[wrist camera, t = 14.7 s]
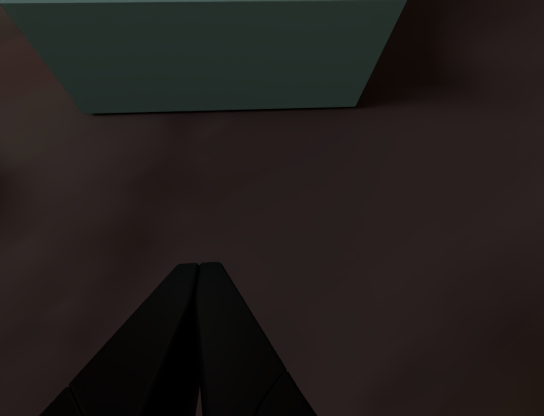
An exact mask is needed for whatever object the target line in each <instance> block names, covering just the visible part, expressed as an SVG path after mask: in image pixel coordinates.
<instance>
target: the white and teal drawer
mask: <svg viewBox="0 0 544 416" xmlns="http://www.w3.org/2000/svg"><path fill="white" fill-rule="evenodd" d="M406 2H407V0H0V4H1V6H2V7H3V8H4V10H5V11H6V12H7V13H8V15H9V16H10V17H11V19H12V20H13V21H14V23H15V24H16V25H17V27H18V28H19V29H20V31H21V32H22V33H23V35H24V36H25V37H26V39H27V40H28V41H29V43H30V44H31V45H32V46H33V48H34V49H35V50H36V52H37V53H38V54H39V56H40V57H41V58H42V60H43V61H44V62H45V64H46V65H47V66H48V68H49V69H50V70H51V72H52V73H53V74H54V76H55V77H56V78H57V80H58V81H59V82H60V83H61V85H62V86H63V87H64V89H65V90H66V91H67V93H68V94H69V95H70V97H71V98H72V99H73V101H74V102H75V103H76V105H77V106H78V107H79V109H80V110H81V111H82V113H83V114H90V113H128V112H165V111H203V110H241V109H279V108H317V107H355V106H356V104H357V102H358V100H359V98H360V96H361V94H362V92H363V90H364V88H365V86H366V84H367V82H368V79H369V77H370V75H371V73H372V71H373V69H374V67H375V65H376V63H377V61H378V59H379V57H380V55H381V53H382V51H383V49H384V47H385V45H386V43H387V41H388V39H389V36H390V34H391V32H392V30H393V28H394V26H395V24H396V22H397V20H398V18H399V16H400V14H401V12H402V10H403V8H404V6H405V4H406Z"/></svg>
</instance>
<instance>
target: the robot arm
mask: <svg viewBox="0 0 544 416" xmlns="http://www.w3.org/2000/svg"><path fill="white" fill-rule="evenodd" d="M199 388H200V391H201V403H202V414H203V416H317V415H316V413H315V412H314V411H313V409H312V408H311V406H310V405H309V403H308V402H307V400H306V399H305V397H304V396H303V394H302V393H301V391H300V390H299V388H298V387H297V385H296V383H295V382H294V380H293V378H292V377H291V375H290V374H289V372H287V370H286V368H285V366H284V364H283V363H282V361H281V359H280V358H279V356H278V355H277V353H276V351H275V350H274V348H273V346H272V345H271V343H270V342H269V340H268V338H267V337H266V335H265V333H264V332H263V330H262V329H261V327H260V325H259V324H258V322H257V320H256V319H255V317H254V316H253V314H252V312H251V311H250V309H249V307H248V306H247V304H246V303H245V301H244V299H243V298H242V296H241V294H240V293H239V291H238V290H237V288H236V286H235V285H234V283H233V282H232V280H231V278H230V277H229V275H228V273H227V272H226V270H225V269H224V267H223V265H222V264H221V263H220V262H207V263H201V264H200V266H199V265H198V264H197V263H188V264H179V265H177V266H176V267H175V268H174V269H173V270H172V271H171V272H170V274H169V275H168V276H167V277H166V278H165V279H164V280H163V281H162V282H161V283H160V285H159V286H158V287H157V288H156V289H155V290H154V291H153V292H152V293H151V294H150V296H149V297H148V298H147V299H146V300H145V301H144V302H143V303H142V304H141V305H140V306H139V308H138V309H137V310H136V311H135V312H134V313H133V314H132V315H131V316H130V317H129V319H128V320H127V321H126V322H125V323H124V324H123V325H122V326H121V327H120V328H119V330H118V331H117V332H116V333H115V334H114V335H113V336H112V337H111V338H110V339H109V340H108V342H107V343H106V344H105V345H104V346H103V347H102V348H101V349H100V350H99V351H98V353H97V354H96V355H95V356H94V357H93V358H92V359H91V360H90V361H89V362H88V364H87V365H86V366H85V367H84V368H83V369H82V370H81V371H80V372H79V373H78V374H77V376H76V377H75V378H74V379H73V380H72V381H71V382H70V383H69V387H66V388H64V390H63V391H62V392H61V393H60V394H59V395H58V396H57V397H56V398H55V399H54V401H53V402H52V403H51V404H50V405H49V406H48V407H47V408H46V409H45V410H44V411H43V412H42V413H41V414H40V415H39V416H195V414H196V408H197V401H198V395H199Z"/></svg>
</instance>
